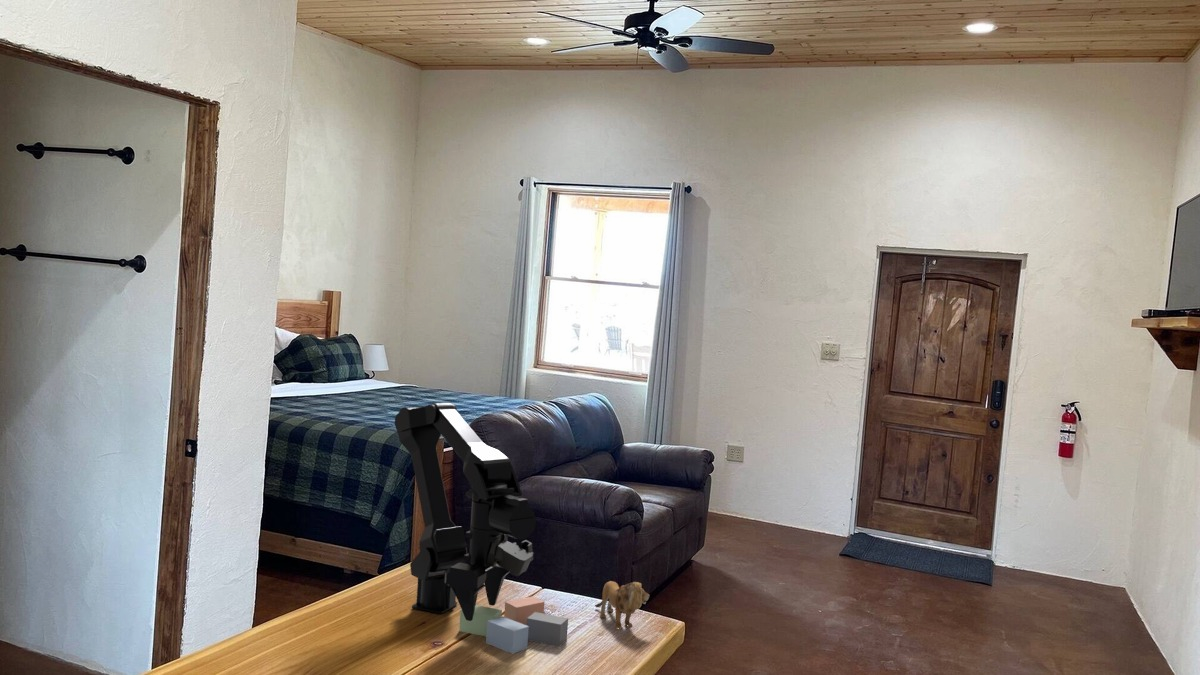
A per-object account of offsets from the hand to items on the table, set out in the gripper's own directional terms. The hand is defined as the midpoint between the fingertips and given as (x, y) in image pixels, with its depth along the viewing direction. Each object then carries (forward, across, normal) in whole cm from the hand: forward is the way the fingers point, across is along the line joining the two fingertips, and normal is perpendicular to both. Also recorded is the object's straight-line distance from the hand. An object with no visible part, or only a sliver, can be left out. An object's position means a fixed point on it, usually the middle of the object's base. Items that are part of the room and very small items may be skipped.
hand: (480, 612), depth 166 cm
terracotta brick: (+4, +8, -5) cm, 10 cm away
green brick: (+4, 0, 0) cm, 4 cm away
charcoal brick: (+3, +2, -12) cm, 13 cm away
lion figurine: (+4, +17, -21) cm, 27 cm away
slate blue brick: (+3, -4, -7) cm, 9 cm away
